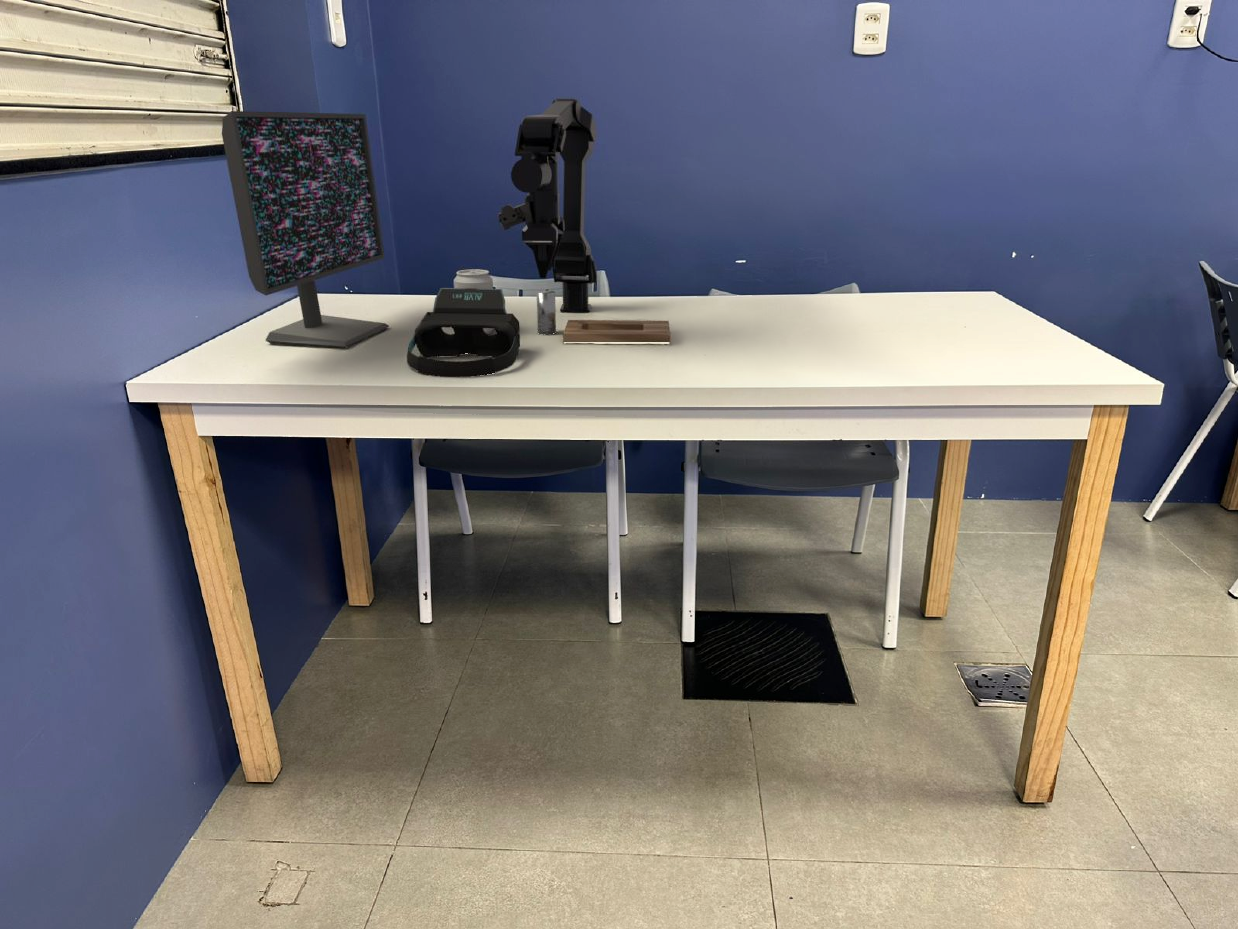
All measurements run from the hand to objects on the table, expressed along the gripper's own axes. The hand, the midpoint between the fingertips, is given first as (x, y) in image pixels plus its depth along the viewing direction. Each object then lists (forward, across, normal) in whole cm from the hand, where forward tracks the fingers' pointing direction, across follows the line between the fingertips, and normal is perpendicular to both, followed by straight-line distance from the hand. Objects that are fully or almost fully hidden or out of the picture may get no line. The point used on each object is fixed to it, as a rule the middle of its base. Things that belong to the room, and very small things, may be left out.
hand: (545, 274), depth 165 cm
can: (+12, 0, -14) cm, 18 cm away
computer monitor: (+12, +5, -42) cm, 43 cm away
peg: (+12, 0, 0) cm, 12 cm away
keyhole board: (+11, +3, +14) cm, 18 cm away
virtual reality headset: (+12, +22, -12) cm, 28 cm away
